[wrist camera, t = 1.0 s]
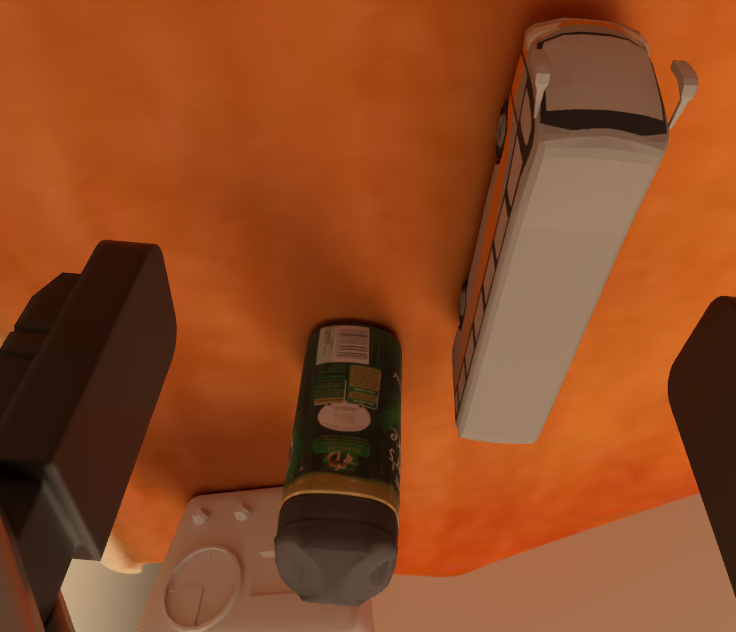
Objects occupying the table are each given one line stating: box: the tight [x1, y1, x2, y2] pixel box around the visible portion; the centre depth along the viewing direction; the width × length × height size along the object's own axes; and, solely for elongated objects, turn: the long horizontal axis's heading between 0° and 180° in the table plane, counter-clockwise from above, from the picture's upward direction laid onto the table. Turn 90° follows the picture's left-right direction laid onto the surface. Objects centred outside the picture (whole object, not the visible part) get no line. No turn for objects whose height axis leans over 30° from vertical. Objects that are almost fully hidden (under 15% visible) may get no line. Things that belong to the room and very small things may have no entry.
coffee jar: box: [274, 323, 402, 606], centre depth 46 cm, size 10×8×19 cm
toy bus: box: [452, 18, 698, 444], centre depth 38 cm, size 7×26×10 cm, turn 177°
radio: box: [136, 487, 374, 632], centre depth 60 cm, size 22×8×25 cm, turn 106°
